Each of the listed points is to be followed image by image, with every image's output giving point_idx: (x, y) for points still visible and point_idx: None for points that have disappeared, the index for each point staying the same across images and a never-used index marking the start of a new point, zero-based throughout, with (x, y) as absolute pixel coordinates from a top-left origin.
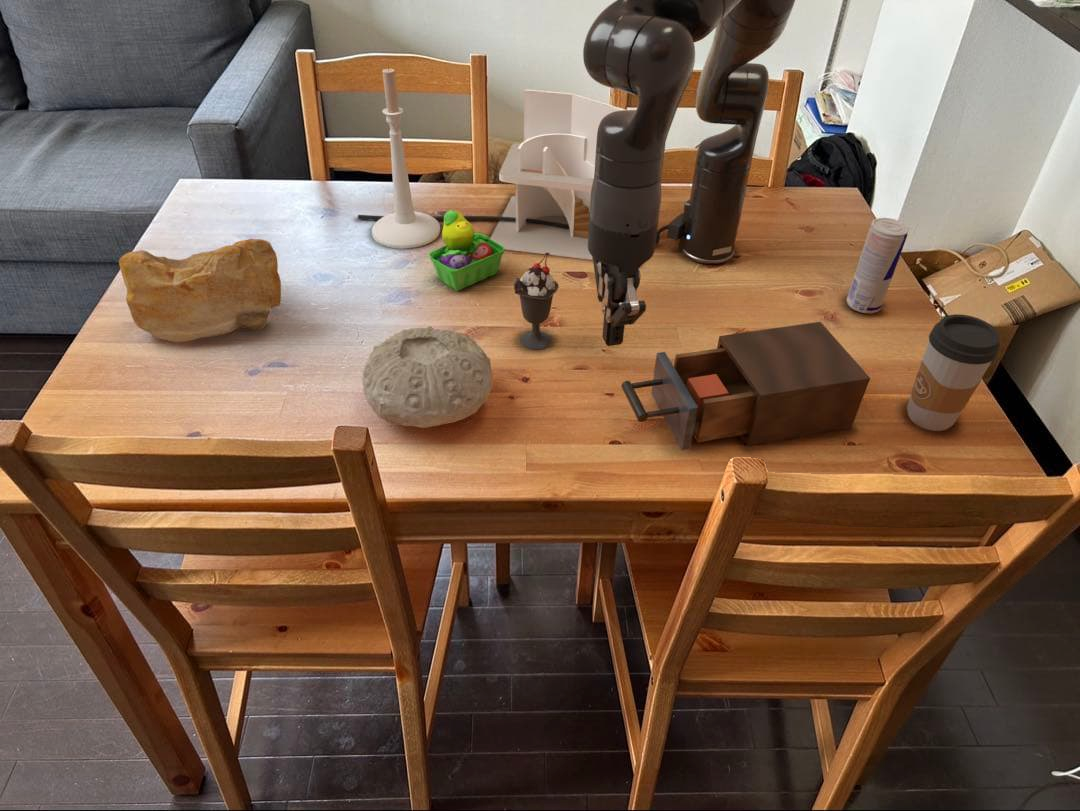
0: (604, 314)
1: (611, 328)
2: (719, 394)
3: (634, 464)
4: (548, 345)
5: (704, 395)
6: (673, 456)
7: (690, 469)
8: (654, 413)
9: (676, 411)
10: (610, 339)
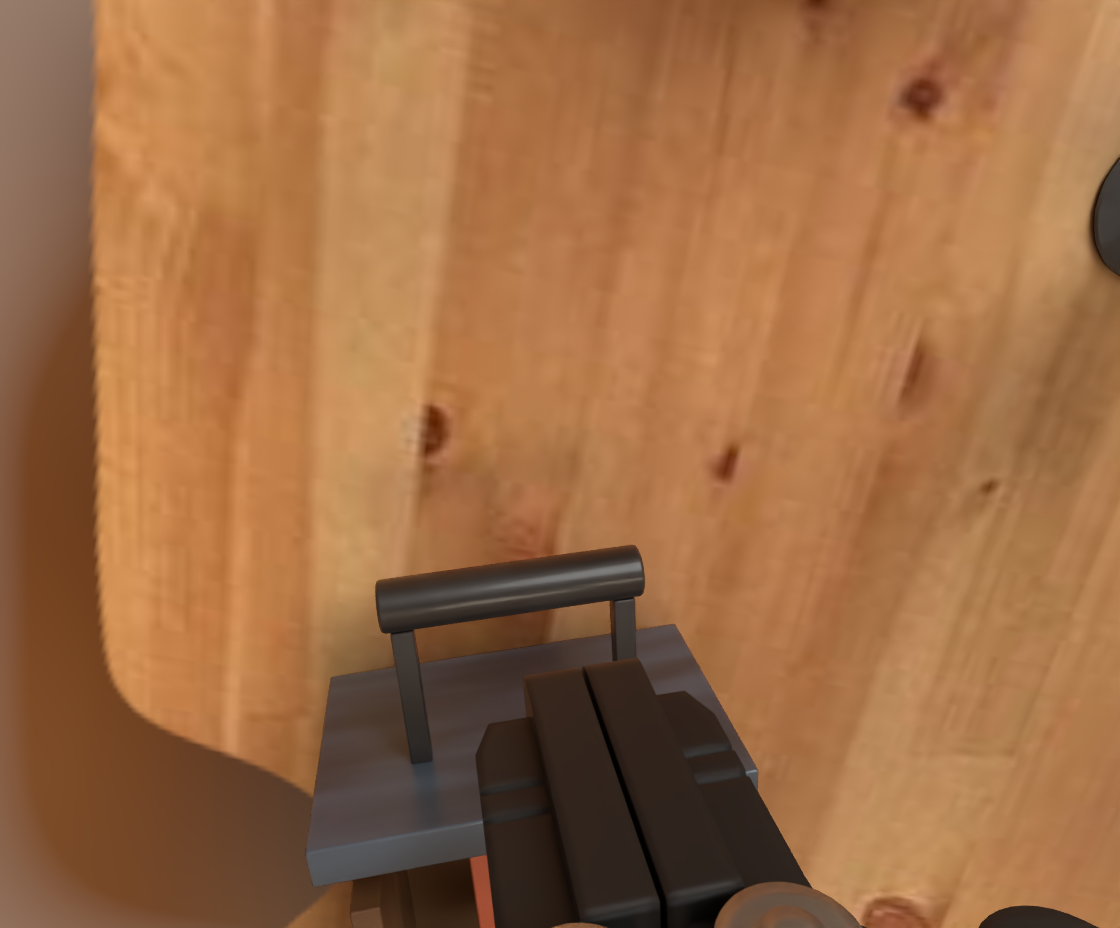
0: (717, 919)
1: (518, 888)
2: (480, 925)
3: (293, 484)
4: (1104, 258)
5: (482, 874)
6: (330, 634)
7: (253, 679)
8: (395, 663)
9: (409, 750)
10: (501, 763)
